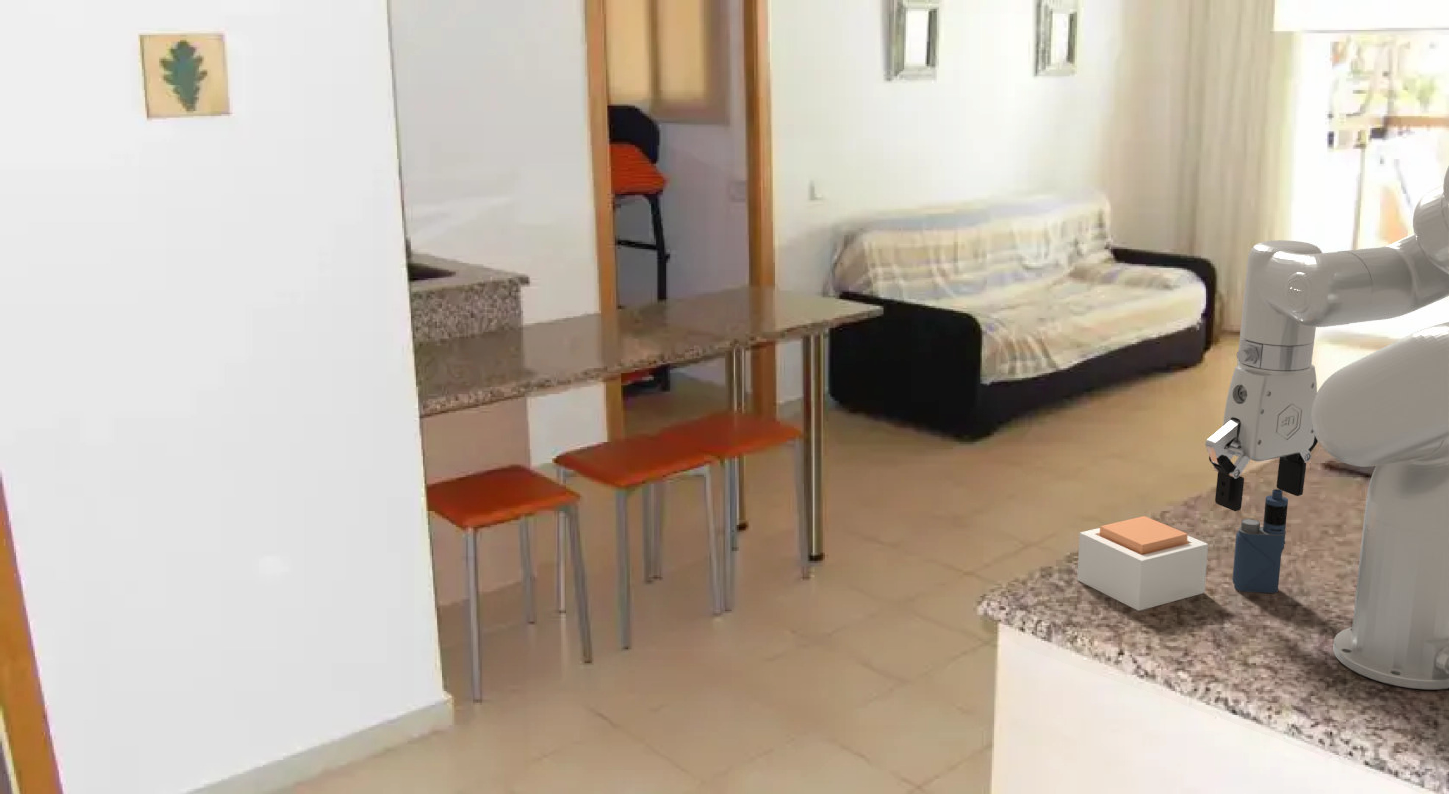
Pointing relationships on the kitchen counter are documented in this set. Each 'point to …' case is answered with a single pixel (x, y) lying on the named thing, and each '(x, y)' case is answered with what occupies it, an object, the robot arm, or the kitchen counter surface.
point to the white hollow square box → (1142, 571)
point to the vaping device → (1261, 548)
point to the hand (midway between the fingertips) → (1258, 499)
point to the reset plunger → (1143, 535)
